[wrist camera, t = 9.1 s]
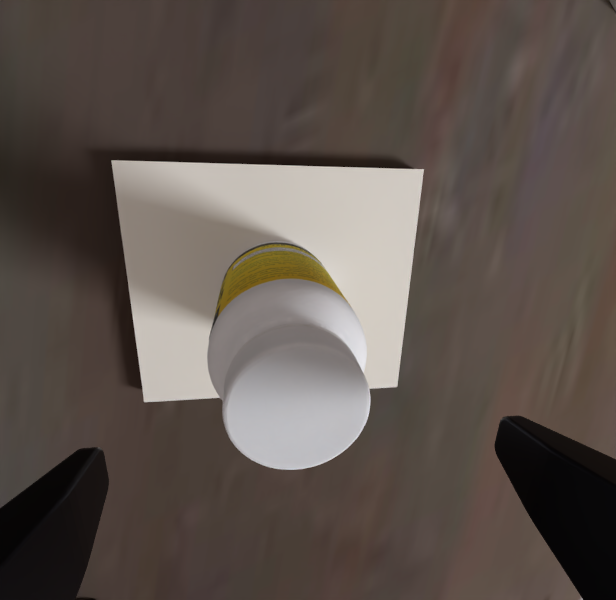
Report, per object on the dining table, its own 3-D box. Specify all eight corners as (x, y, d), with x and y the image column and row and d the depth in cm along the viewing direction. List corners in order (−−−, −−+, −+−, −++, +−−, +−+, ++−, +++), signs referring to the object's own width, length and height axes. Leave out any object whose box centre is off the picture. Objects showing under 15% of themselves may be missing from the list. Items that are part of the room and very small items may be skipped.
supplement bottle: (205, 256, 18) (160, 351, 9) (315, 226, 18) (381, 288, 9) (239, 353, 20) (232, 513, 11) (338, 325, 20) (412, 458, 11)
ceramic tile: (148, 391, 21) (144, 402, 20) (118, 160, 17) (111, 160, 16) (391, 377, 23) (397, 386, 22) (414, 169, 19) (423, 169, 18)
